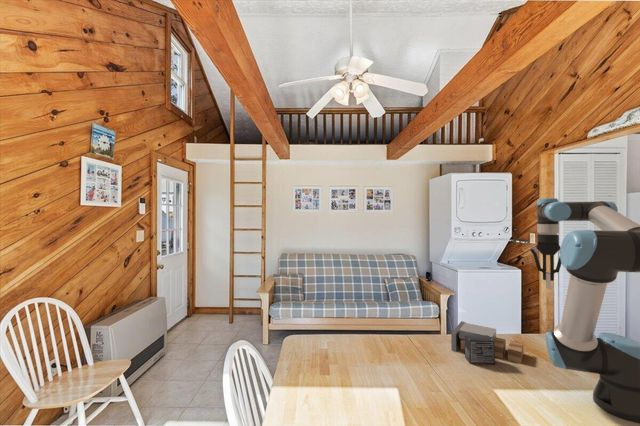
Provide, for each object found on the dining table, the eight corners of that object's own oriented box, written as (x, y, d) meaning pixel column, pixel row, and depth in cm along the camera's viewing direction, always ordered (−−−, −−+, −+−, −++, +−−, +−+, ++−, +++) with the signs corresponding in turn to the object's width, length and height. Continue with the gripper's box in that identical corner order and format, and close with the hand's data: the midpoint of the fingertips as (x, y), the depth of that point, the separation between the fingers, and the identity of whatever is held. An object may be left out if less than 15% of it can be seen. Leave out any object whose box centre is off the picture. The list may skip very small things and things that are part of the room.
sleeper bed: (521, 363, 131) (521, 351, 131) (472, 351, 143) (472, 340, 143) (523, 353, 140) (523, 343, 140) (477, 343, 152) (477, 333, 152)
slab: (492, 345, 138) (492, 337, 138) (459, 338, 146) (459, 329, 146) (496, 337, 147) (496, 328, 147) (464, 330, 156) (464, 322, 156)
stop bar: (455, 351, 143) (455, 334, 143) (451, 350, 145) (451, 333, 145) (465, 337, 159) (465, 322, 159) (461, 336, 160) (461, 321, 160)
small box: (488, 358, 137) (488, 334, 137) (495, 365, 130) (495, 340, 130) (464, 357, 138) (464, 333, 138) (469, 364, 131) (469, 339, 131)
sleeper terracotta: (469, 351, 144) (469, 341, 144) (460, 348, 146) (460, 339, 146) (474, 343, 153) (474, 334, 153) (466, 341, 155) (466, 332, 155)
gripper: (566, 233, 131) (567, 288, 131) (530, 232, 139) (530, 284, 139) (567, 234, 125) (568, 292, 125) (529, 233, 133) (529, 287, 133)
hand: (548, 287), depth 132 cm, fingers closed
